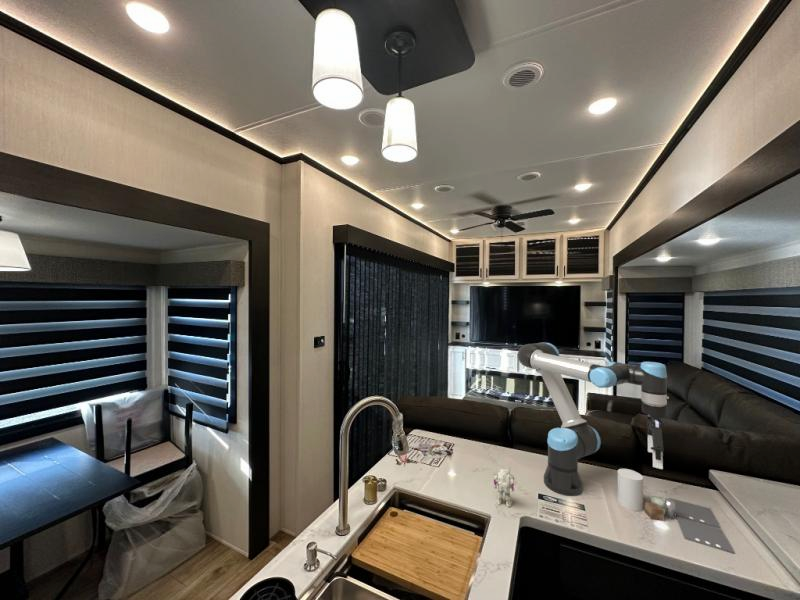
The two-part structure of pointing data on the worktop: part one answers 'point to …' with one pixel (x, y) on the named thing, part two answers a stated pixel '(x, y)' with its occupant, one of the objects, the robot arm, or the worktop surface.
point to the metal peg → (669, 508)
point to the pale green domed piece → (657, 501)
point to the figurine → (503, 485)
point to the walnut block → (654, 511)
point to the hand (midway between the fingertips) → (654, 459)
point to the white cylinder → (630, 489)
